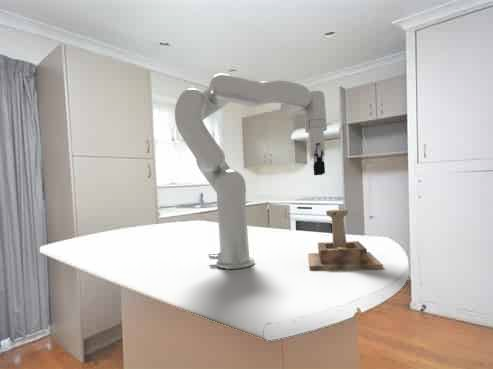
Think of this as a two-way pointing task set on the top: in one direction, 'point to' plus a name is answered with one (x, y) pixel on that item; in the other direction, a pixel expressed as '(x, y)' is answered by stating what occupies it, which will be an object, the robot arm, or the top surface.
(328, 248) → the hub block
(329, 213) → the handle
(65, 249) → the top surface
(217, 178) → the robot arm
